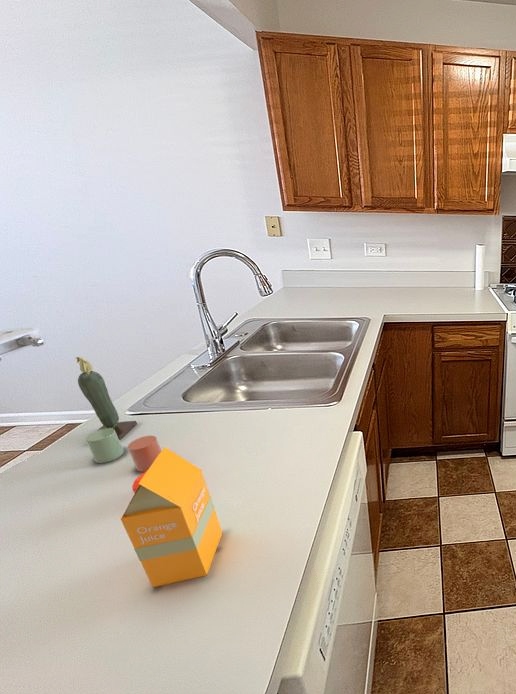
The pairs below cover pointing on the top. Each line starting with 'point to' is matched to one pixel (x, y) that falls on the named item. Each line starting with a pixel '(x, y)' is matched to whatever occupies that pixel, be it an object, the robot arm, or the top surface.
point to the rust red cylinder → (144, 452)
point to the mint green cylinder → (104, 445)
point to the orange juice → (173, 521)
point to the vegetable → (97, 394)
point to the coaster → (122, 428)
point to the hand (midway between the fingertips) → (20, 349)
